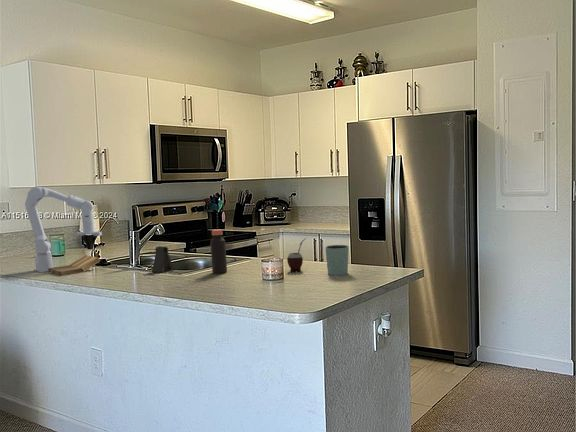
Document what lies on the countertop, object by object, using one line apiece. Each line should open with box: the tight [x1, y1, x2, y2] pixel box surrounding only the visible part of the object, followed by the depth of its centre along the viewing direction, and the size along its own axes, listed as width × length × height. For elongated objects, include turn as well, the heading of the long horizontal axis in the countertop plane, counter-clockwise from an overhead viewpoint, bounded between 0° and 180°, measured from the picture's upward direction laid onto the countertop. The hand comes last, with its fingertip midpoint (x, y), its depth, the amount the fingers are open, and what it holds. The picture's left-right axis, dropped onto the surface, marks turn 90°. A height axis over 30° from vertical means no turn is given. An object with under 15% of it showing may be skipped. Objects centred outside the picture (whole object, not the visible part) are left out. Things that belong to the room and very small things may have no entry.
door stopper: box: [151, 245, 175, 274], centre depth 278 cm, size 9×6×12 cm, turn 139°
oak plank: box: [67, 254, 101, 273], centre depth 296 cm, size 18×10×2 cm, turn 43°
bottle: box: [210, 228, 228, 275], centre depth 265 cm, size 7×7×20 cm
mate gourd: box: [287, 237, 307, 273], centre depth 258 cm, size 8×8×15 cm
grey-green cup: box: [325, 244, 350, 277], centre depth 246 cm, size 10×10×12 cm
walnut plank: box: [47, 264, 83, 277], centre depth 289 cm, size 18×10×2 cm, turn 43°
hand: (90, 249), depth 302 cm, fingers closed
